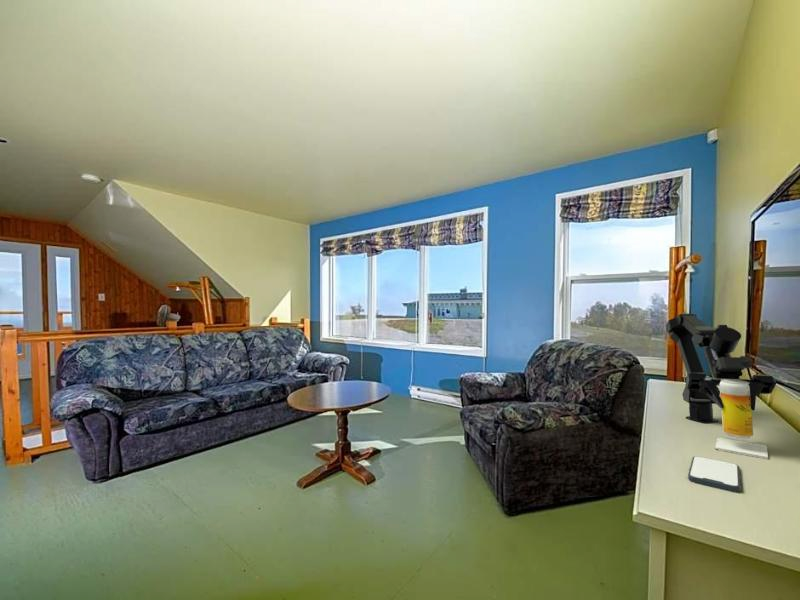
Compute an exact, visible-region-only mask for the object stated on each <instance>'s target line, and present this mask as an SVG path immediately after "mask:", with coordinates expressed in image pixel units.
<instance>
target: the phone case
mask: <svg viewBox="0 0 800 600" xmlns="http://www.w3.org/2000/svg"><path fill="white" fill-rule="evenodd" d="M740 473H741V471H740V466H739V465H738V464H737V463H736V464H735V463H734V462H733V463H732V462H727V461H722V460H718V459H713V458H707V457H702V456H699V455H698V456H697V455H696V456H695V455H694V456H693V457H692V459H691V463H690V467H689V469H688V475H687V479H688V481H690V482H691V483H693V482H694V483H693V484H698V485H703V486H707V487H711V488H716V489H719V490H724V491H728V492H731V493H741V486H742V479H741V474H740Z"/></svg>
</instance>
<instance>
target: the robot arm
mask: <svg viewBox="0 0 800 600" xmlns="http://www.w3.org/2000/svg"><path fill="white" fill-rule="evenodd" d="M665 331H666V333H667V335H668V336H669V339H670V340H672V341H673V342H675V343H676V344H677V347H678V350H679V352H680V355H681V359H682V362H683V364H684V367H685V371H686V374H687V375H686V379H685V384H684V385H685V386H684V389H683V392H682V398H683V399H682V400H683V401H684V402H685V403H688V404H689V405H688V408H689V409H688V413H689V415H688V416H685V419H688V420H692V421H694V422H695V421H696V422H700V423H702V424H709V423H715V422H719V419H717V418H714V408H713V405H717V406H718V408H720V409H721V408H723V403H722V400H721V398H720V387H719V384H720V382H721V380H723V379H733V380H742V381H746V382H747V384H748V385H749V387H750V400H751V412H753V411H755V410H756V400H757V396H760V395H761V394H763V395H769V394H772V393H773V391H774V389H775V387H776V385H777V384H778V383H777V381H776V378H775V377H774V376H773V375H770V374H753V375H752V377H751V379H749V378H747V379H745V378H744V379H743V378H740V377H742V376H743V371H742V370H745V369H747V370H749V369H751V368H752V366H753V364H752V360H751V358H750V357H749V355H740V356H739V357H735V356H734V357H733V356H732V355H731V353H733V352H735V350H736V348H737V346H738V344H739V342H740V340H741V338H742V334H741V332H740V331H739V330H736V329H735V328H732V327H730V326H729V327H728V325H727V324H717V327H713V326H708V325H707V324H706V323H704V321H702V320H700V319H699V318H698V317H697V314H695V313H680V314H677V315H676V316H675V317H673V318H671V319H669V320H668V321H667V322H666V323H665ZM695 345H696V346H697V347H698V348H705V349H704V354H705V355H704V359H705V360H706V361H707V364H708V367H709V372H710V374H711V375H710V374H707V373H706V372H705V371H704V368H703V365H702V363H701V360H700V357H699V353H698V352H697V349H696V346H695Z"/></svg>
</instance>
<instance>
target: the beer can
mask: <svg viewBox="0 0 800 600" xmlns="http://www.w3.org/2000/svg"><path fill="white" fill-rule="evenodd" d="M718 388H719V390H720V398H721V400H722V403H723V408H720V410H721V423H722V425H721V426H722V431H723V433H725V435H727V436H728V437H729V436H730V437H732V438H736V439H737V438H738V439H751V438H752V436H754V428H753V425H754V424H753V413H752V412H753V411H752V410H751V400H750V387H749V385H748V384H747V382H746V381H742V380H733V379H723V380H721V382H720V384H719V386H718Z"/></svg>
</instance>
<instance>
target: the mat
mask: <svg viewBox="0 0 800 600" xmlns="http://www.w3.org/2000/svg"><path fill="white" fill-rule="evenodd" d="M714 449H715V450H716V449H718V450H717V451H720V450H723V451H722V452H726V451H728V452H727V453H731V452H733V453H732V454H736V453H738V455H742V454H743V455H744V456H747V455H748V457H755V458H760V459H765V460H769V456H768V447H767V445H764V444H759V443H753V442H752V443H751V442H747V441H741V440H734V439H728V438H723V437H722V438H721V437H717V439H716V444H715V448H714ZM743 455H742V456H743Z"/></svg>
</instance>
